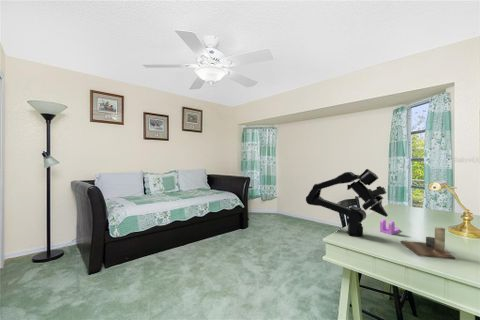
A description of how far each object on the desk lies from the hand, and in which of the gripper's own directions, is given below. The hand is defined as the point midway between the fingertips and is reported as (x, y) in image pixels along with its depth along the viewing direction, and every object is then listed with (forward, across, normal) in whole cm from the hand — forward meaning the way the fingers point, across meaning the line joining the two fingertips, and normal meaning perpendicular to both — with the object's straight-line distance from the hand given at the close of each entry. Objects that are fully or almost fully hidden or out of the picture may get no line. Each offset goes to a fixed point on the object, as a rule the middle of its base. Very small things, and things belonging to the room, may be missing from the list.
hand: (387, 216), depth 106 cm
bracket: (+8, +21, +10) cm, 25 cm away
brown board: (+19, +1, -1) cm, 19 cm away
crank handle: (+21, +3, -4) cm, 21 cm away
